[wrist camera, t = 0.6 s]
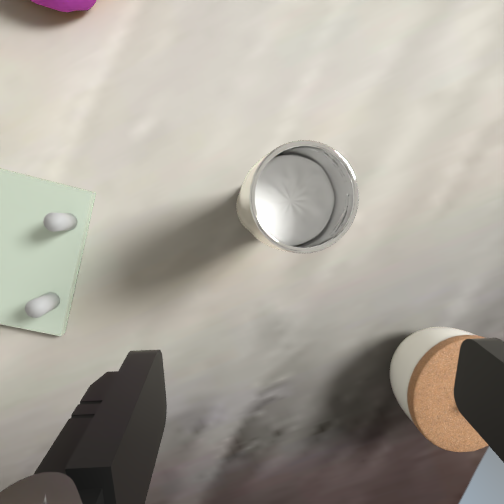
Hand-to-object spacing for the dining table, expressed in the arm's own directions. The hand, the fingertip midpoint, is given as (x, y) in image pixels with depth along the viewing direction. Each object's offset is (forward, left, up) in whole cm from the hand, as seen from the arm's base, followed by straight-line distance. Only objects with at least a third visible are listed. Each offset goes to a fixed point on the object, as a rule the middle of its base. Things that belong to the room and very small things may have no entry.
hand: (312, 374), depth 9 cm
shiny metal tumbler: (-4, +4, -26) cm, 27 cm away
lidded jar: (+17, +16, -27) cm, 35 cm away
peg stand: (-7, -21, -26) cm, 34 cm away
